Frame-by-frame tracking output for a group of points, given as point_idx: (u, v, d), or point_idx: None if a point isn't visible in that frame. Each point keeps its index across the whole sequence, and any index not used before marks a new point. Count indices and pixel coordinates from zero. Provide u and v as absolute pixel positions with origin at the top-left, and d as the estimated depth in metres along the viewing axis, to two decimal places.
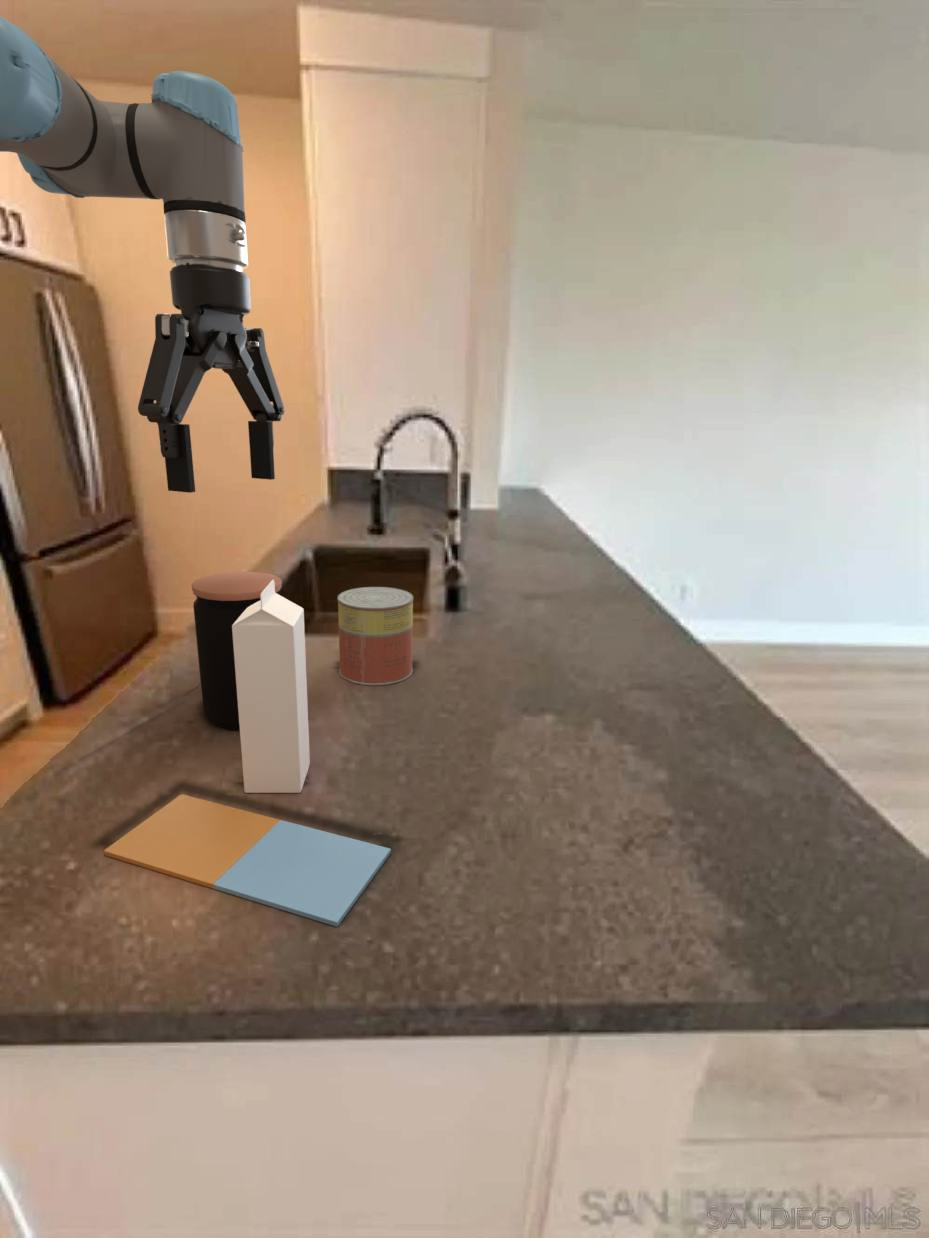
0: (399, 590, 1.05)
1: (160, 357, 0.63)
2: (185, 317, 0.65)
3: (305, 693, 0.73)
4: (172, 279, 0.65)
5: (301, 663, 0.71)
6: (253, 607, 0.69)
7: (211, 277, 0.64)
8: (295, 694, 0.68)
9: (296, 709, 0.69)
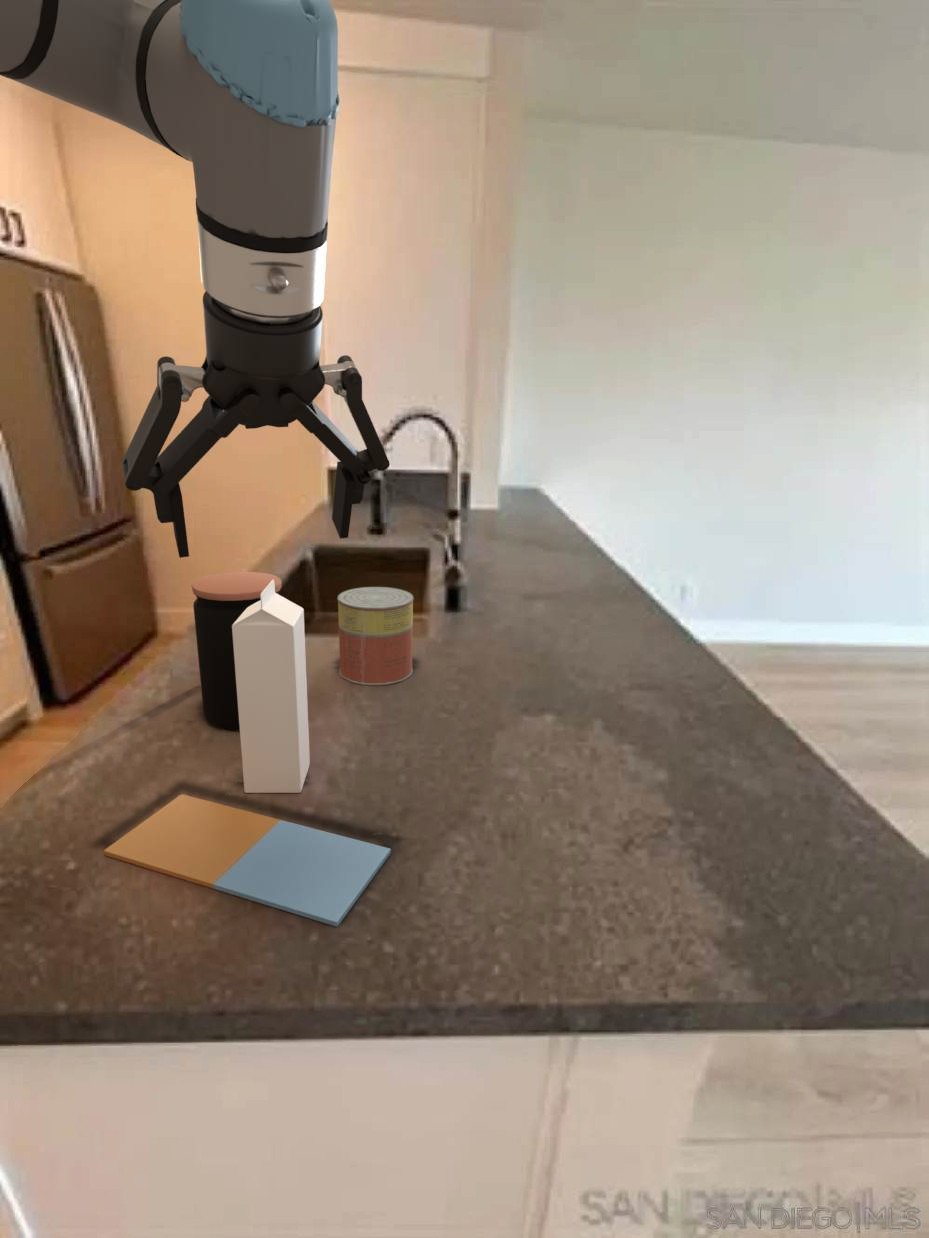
0: (399, 590, 1.05)
1: (148, 418, 0.47)
2: (207, 363, 0.46)
3: (305, 693, 0.73)
4: None
5: (301, 663, 0.71)
6: (253, 607, 0.69)
7: (226, 334, 0.42)
8: (295, 694, 0.68)
9: (296, 709, 0.69)
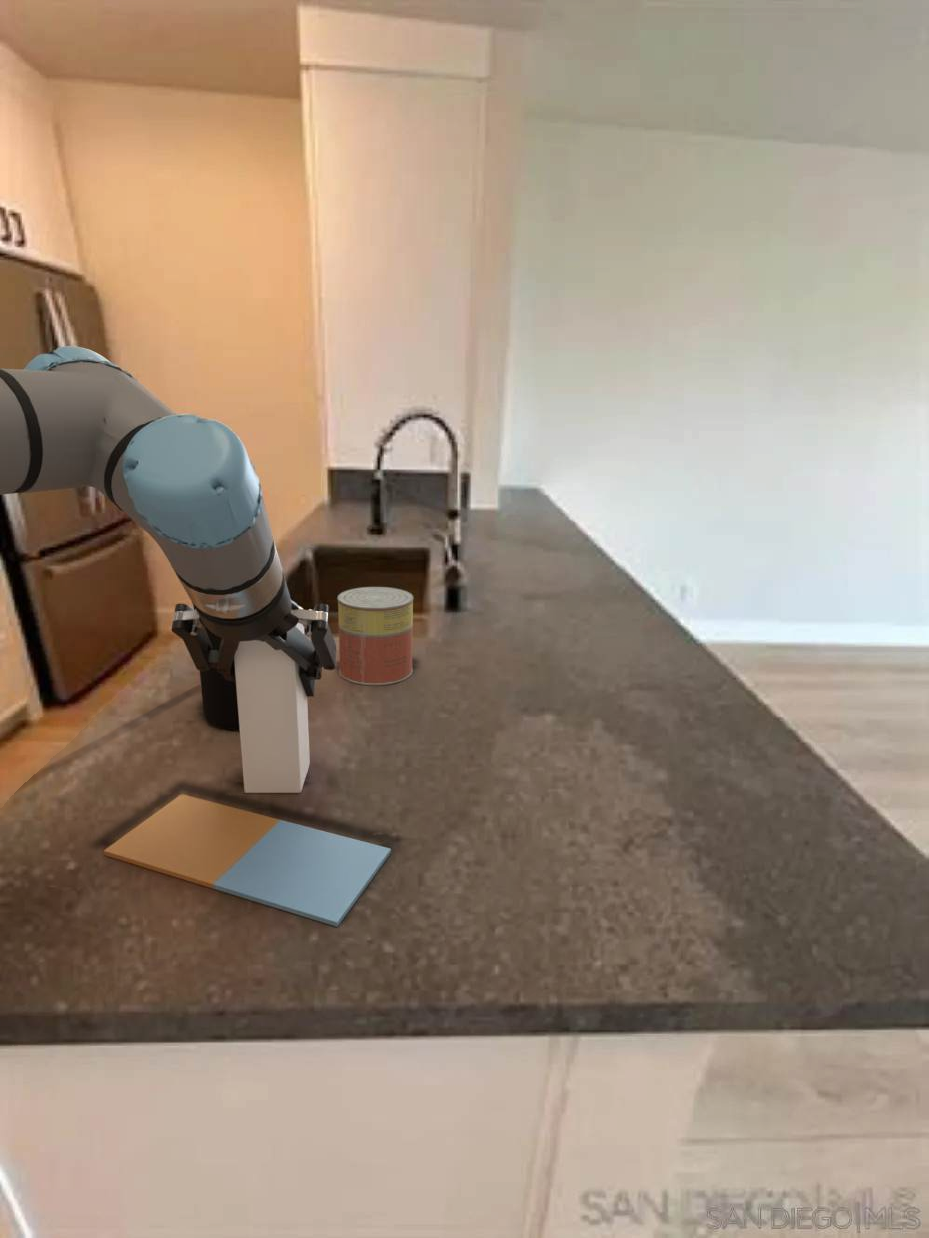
0: (399, 590, 1.05)
1: None
2: None
3: (305, 693, 0.73)
4: None
5: None
6: None
7: (199, 614, 0.54)
8: (295, 694, 0.68)
9: (296, 709, 0.69)
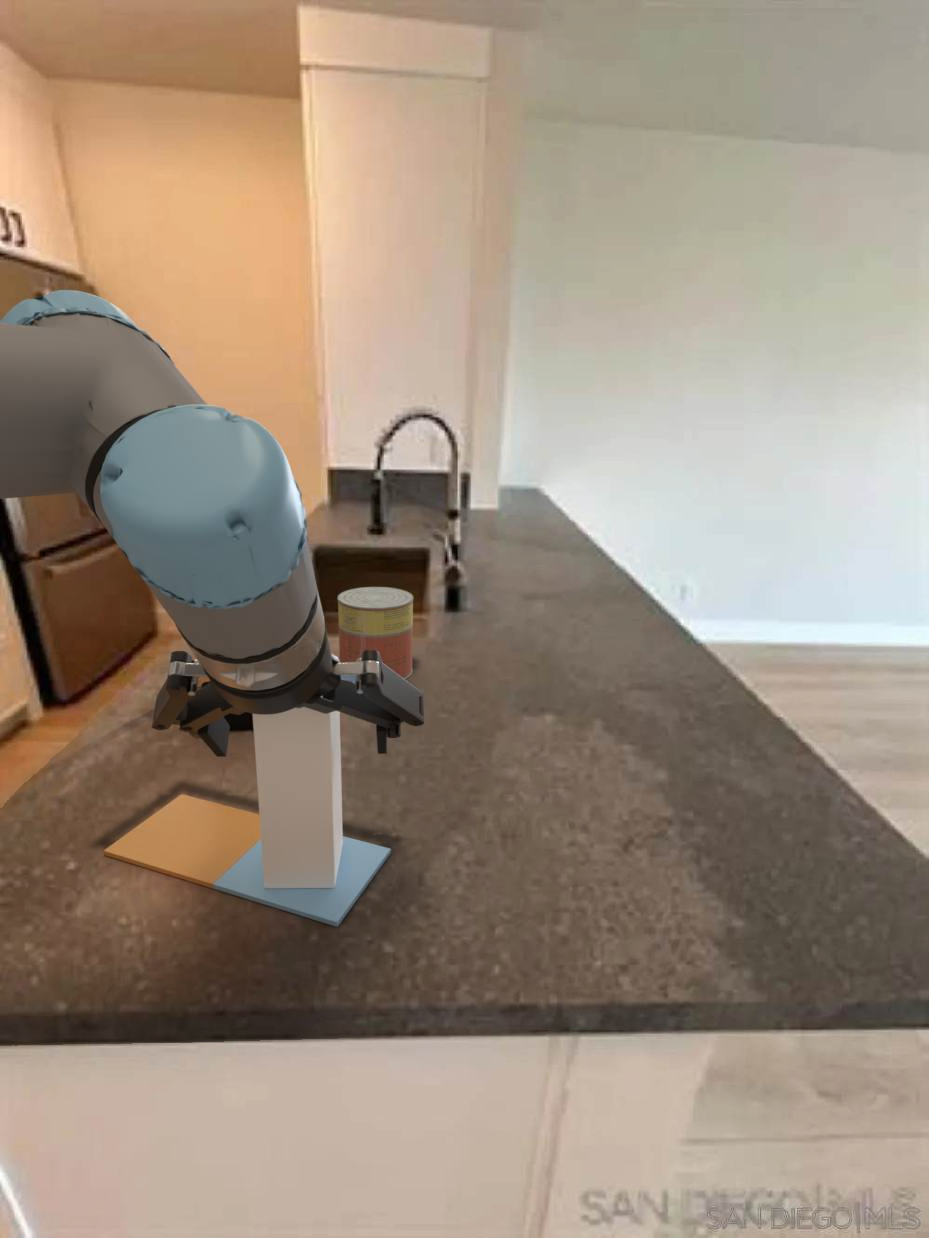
0: (399, 590, 1.05)
1: (167, 690, 0.47)
2: None
3: (339, 761, 0.59)
4: None
5: (336, 727, 0.56)
6: None
7: (211, 681, 0.40)
8: (330, 769, 0.54)
9: (331, 787, 0.54)
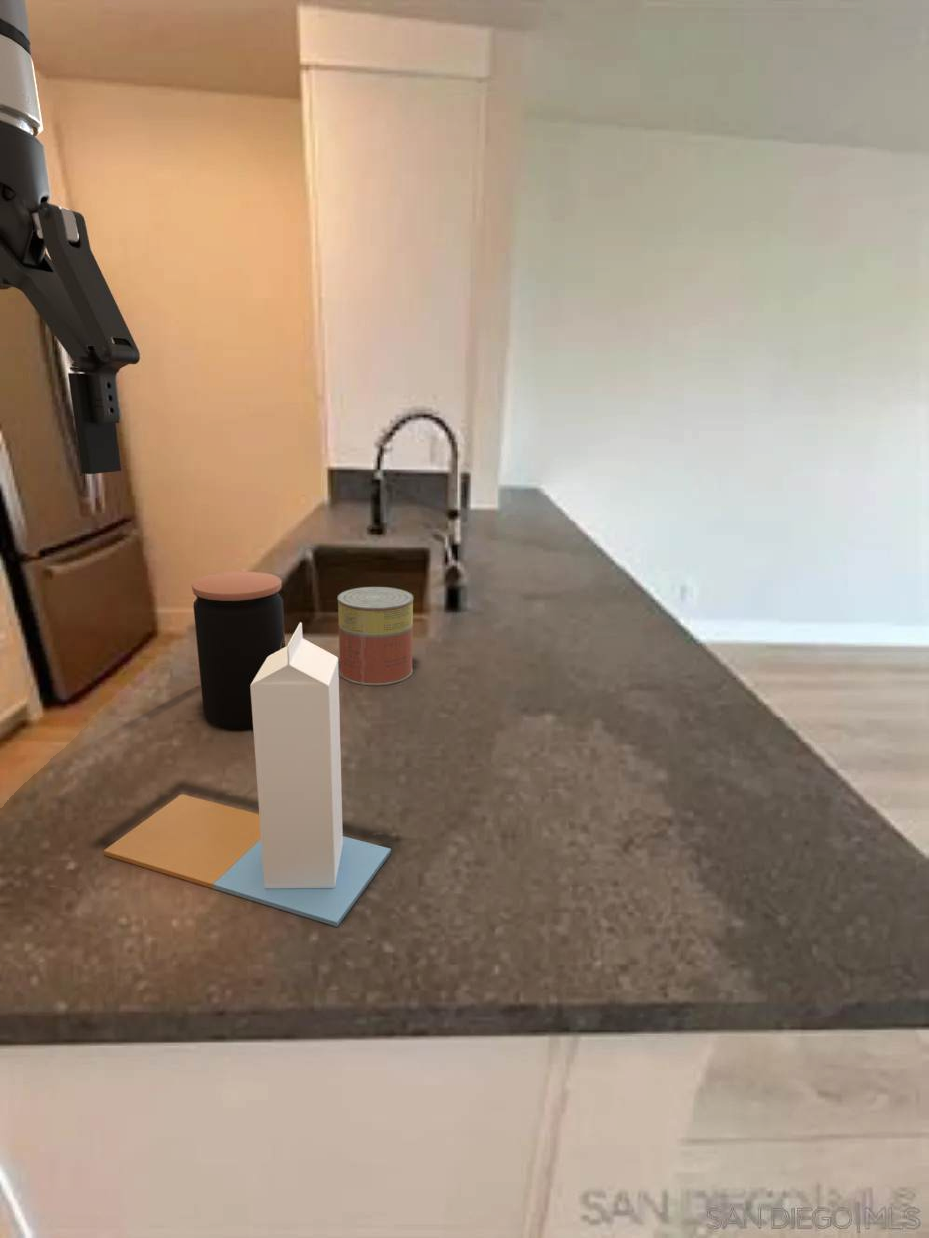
0: (399, 590, 1.05)
1: None
2: None
3: (339, 761, 0.59)
4: None
5: (336, 727, 0.56)
6: (276, 658, 0.54)
7: None
8: (330, 769, 0.54)
9: (331, 787, 0.54)
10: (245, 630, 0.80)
